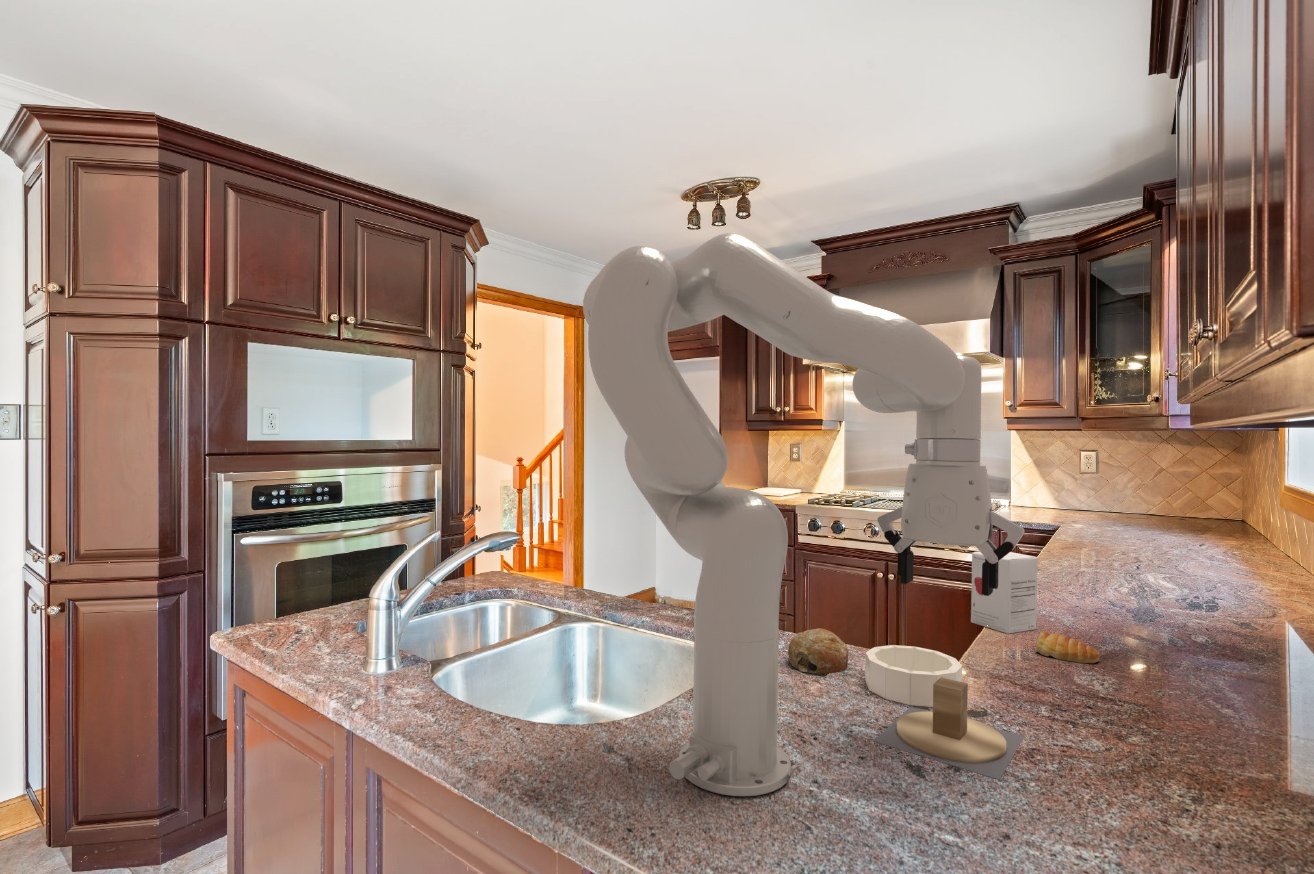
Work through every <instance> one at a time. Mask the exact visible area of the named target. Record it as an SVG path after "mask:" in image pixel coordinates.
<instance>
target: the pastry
mask: <svg viewBox="0 0 1314 874" xmlns="http://www.w3.org/2000/svg"><path fill="white" fill-rule="evenodd" d="M1035 650H1036V652H1037V653H1039V654H1040V655H1042V656H1046V657H1049V656H1050V657H1053V658H1054V659H1057V660H1060V661H1067V662H1073V663H1078V664H1087V663H1090V664H1095V663H1097V662H1099V660H1100V656H1101V653H1100V651H1099V650H1098V649H1096V648H1095V647H1094V646H1091V645H1089V644H1086V643H1085V642H1083V641H1081V640H1078V639H1076V638H1072V637H1070V636H1069V635H1066V634H1065V635H1063V634H1060V633H1056V632H1055V633H1050V632H1048V631H1046V630H1044V631H1041V632H1040V633H1039V635H1038V637H1037V641H1036V645H1035Z"/></svg>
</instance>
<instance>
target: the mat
mask: <svg viewBox="0 0 1314 874" xmlns="http://www.w3.org/2000/svg"><path fill="white" fill-rule="evenodd" d="M914 712H932V710H926V709H922V708H919V707H916V706H913V705H909V707H908V708H907V709H906V710H905V711H904V712H903V713H901V715H899V717H898V718H896V719H895V720H894V721H893V722H892V723H891V724H890V725H889V726H888V727H887V728H886V729H885V730H884V731H882V732H881V733H880V734H879V735H878V736H877V737H876V738H875V739H874V740H873V742H874V743H876V744H880V745H884V746H887V747H890V748H894V749H897V750H900V751H903V752H906V753H910V754H913V755H916V756H920V757H923V758H927V759H930V760H933V761H935V762H939V763H941V764H946V765H949V766H952V767H955V768H960V769H962V770H966V771H967V772H972V773H974V774H975V773H976V774H978V775H982V776H985V777H988V778H992V779H995V780H998V781H1000V780H1001V779H1002V777H1003V775H1004V773H1005V771H1006V770H1007V768H1008V766H1009V764H1010V763H1011V761H1012V759H1013V757H1014V756H1015V753H1016V752H1017V750H1018V748H1019V747H1020V745H1021V743H1022V741H1023V740H1024V738H1025V735H1021V734H1017V733H1015V732H1014V733H1013V732H1010V731H1008V730H1002V729H999V728H996V727H992V728H993V729H995V730H996V731H998V732H999V733H1000V734H1001V735H1002V736H1003V737H1004V738H1005V740H1006V754H1005V755H1004V756H1003V757H1002V758H1000V759H998V760H995V761H992V762H985V763H965V762H957V761H951V760H946V759H942V758H938V757H935V756H932V755H929V754H926V753H923V752H921V751H919V750H917V749H915V748H913V747H911V746H910V745H908V744H907V743H905V742H904V741H903V740H902V739H901V738H900V737H899V735H898V733H897V721H898V719H899V718H900V717H902V716H904V715H906V714H909V713H914Z"/></svg>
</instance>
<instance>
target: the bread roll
mask: <svg viewBox="0 0 1314 874" xmlns="http://www.w3.org/2000/svg"><path fill="white" fill-rule="evenodd" d="M787 653H788V660H789V663H790V665H792V667H793V668H795V669H796V670H798V671H799V672H800V673H807V674H813V675H824V676H828V675H829V674H831V673H840V672H843V671H845V670H847V669H848V661H849V651H848V647H847V644H846V643H845V642H844V641H843V640H841V638H840V637H839V636H837V634H835V633H834V632H832V631H831V630H828V629H825V628H822V627H821V628H820V627H817V628H811V629H807V630H804V631H802V632H798V633H797V634H796V635H794V636H793V637H792V639H791V640H790V642H789V645H788V650H787Z"/></svg>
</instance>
